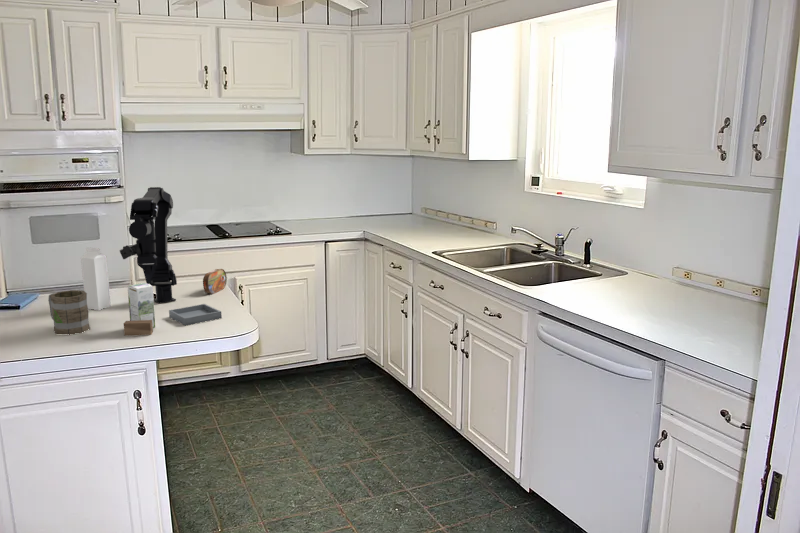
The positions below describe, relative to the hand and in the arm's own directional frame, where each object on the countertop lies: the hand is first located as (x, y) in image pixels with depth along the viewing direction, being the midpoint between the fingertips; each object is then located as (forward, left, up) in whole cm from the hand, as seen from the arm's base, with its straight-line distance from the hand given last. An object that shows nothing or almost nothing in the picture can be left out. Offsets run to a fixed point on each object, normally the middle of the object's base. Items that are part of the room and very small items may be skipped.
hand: (148, 282), depth 230 cm
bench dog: (+16, -10, -13) cm, 23 cm away
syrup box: (+11, -7, -13) cm, 18 cm away
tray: (+11, +11, -13) cm, 20 cm away
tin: (-20, +34, -13) cm, 41 cm away
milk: (-24, -10, -13) cm, 29 cm away
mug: (-4, -26, -13) cm, 29 cm away
